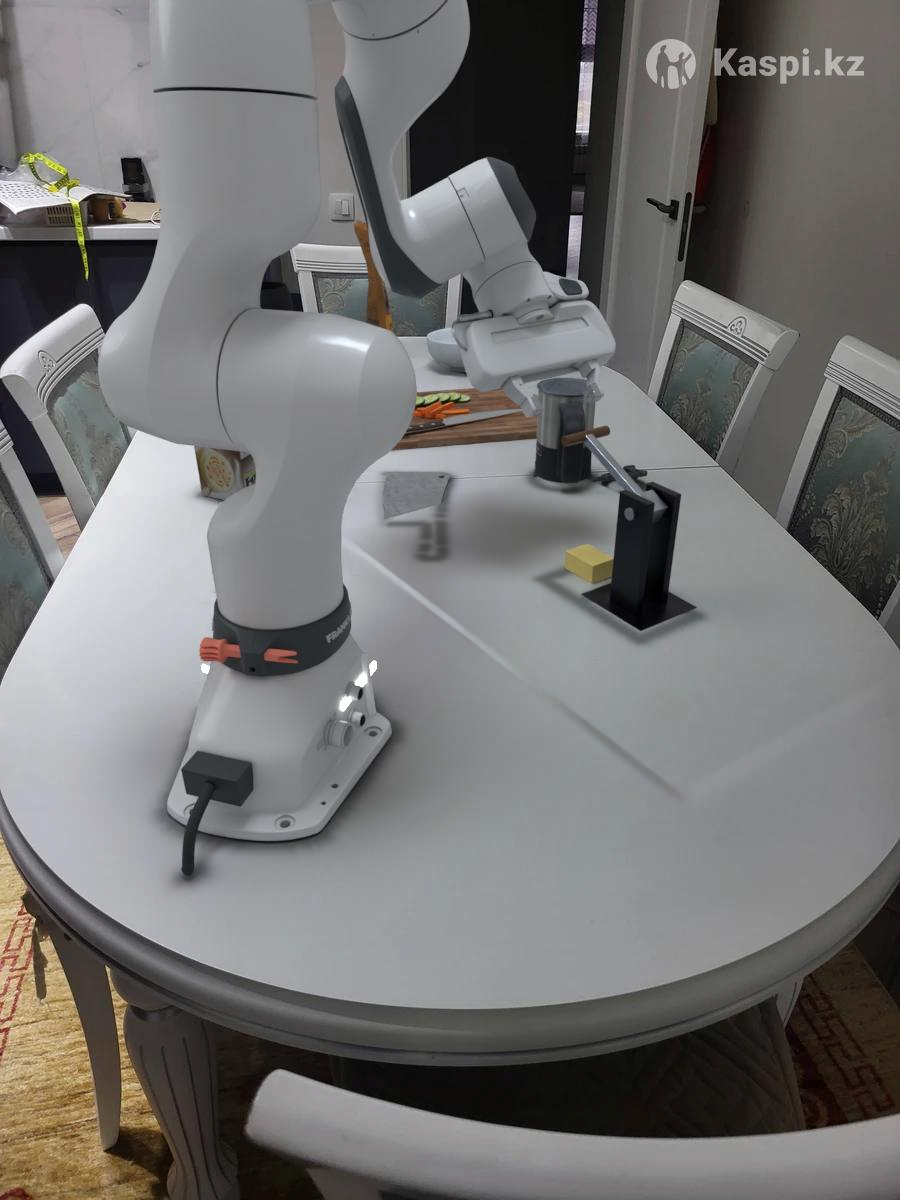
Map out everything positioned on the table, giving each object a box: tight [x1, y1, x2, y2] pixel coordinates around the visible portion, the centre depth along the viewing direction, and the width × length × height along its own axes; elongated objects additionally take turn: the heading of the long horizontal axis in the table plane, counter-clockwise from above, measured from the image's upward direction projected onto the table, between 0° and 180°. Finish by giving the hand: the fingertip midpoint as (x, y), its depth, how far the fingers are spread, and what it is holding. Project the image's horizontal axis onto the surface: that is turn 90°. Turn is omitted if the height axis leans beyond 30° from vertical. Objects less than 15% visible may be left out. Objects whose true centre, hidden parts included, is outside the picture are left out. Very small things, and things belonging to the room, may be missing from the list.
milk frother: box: [532, 377, 648, 484], centre depth 134 cm, size 14×16×15 cm
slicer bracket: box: [580, 481, 698, 632], centre depth 101 cm, size 10×9×15 cm
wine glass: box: [260, 280, 295, 311], centre depth 177 cm, size 10×10×20 cm
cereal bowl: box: [426, 327, 466, 373], centre depth 192 cm, size 17×17×7 cm
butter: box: [564, 543, 614, 585], centre depth 109 cm, size 5×4×3 cm
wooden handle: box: [353, 219, 395, 334], centre depth 198 cm, size 7×19×28 cm, turn 11°
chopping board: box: [391, 387, 538, 451], centre depth 163 cm, size 45×27×3 cm, turn 102°
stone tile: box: [383, 471, 451, 520], centre depth 128 cm, size 29×1×10 cm
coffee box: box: [193, 446, 256, 501], centre depth 131 cm, size 9×6×16 cm
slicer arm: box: [561, 425, 668, 524], centre depth 100 cm, size 14×6×2 cm, turn 34°
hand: (566, 406), depth 104 cm, fingers open, 8 cm apart
